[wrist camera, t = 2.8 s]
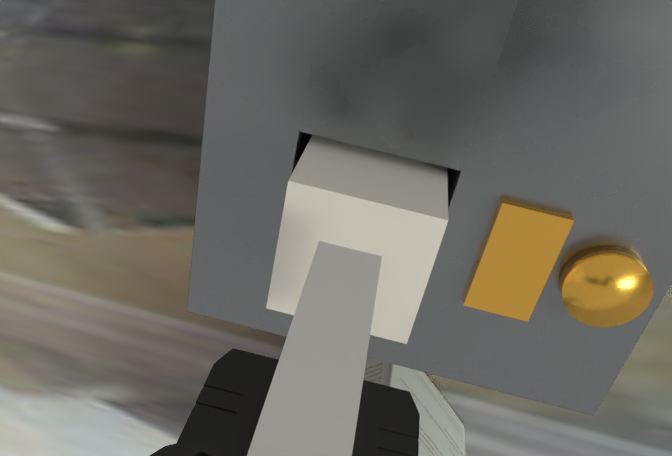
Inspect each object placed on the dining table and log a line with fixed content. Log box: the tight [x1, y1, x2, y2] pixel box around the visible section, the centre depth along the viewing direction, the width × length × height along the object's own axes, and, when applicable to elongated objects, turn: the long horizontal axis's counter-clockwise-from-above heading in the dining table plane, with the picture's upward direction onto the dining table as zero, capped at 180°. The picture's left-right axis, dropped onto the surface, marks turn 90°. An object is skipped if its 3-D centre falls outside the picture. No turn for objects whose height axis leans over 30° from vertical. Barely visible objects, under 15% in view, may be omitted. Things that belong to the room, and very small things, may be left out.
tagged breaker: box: [266, 135, 448, 344], centre depth 18 cm, size 4×4×5 cm
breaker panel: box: [187, 0, 672, 415], centre depth 19 cm, size 14×20×9 cm
